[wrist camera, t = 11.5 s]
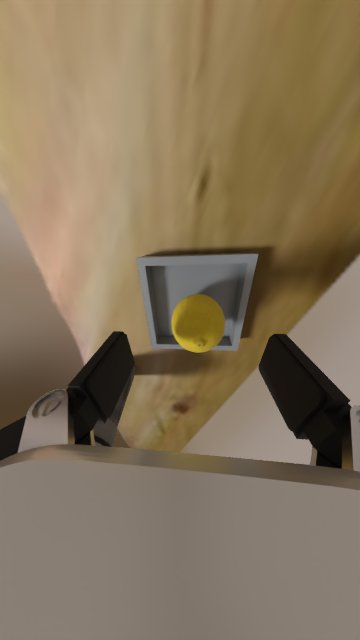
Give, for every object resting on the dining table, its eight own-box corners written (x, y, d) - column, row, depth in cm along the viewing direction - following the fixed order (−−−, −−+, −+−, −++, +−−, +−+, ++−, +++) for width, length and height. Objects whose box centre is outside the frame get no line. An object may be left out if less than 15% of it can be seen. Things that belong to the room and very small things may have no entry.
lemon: (176, 324, 20) (168, 367, 13) (175, 285, 17) (162, 314, 10) (215, 324, 19) (228, 370, 12) (220, 285, 17) (240, 315, 10)
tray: (143, 256, 16) (136, 257, 14) (249, 252, 15) (258, 254, 13) (155, 338, 22) (151, 348, 20) (232, 339, 21) (237, 350, 19)
